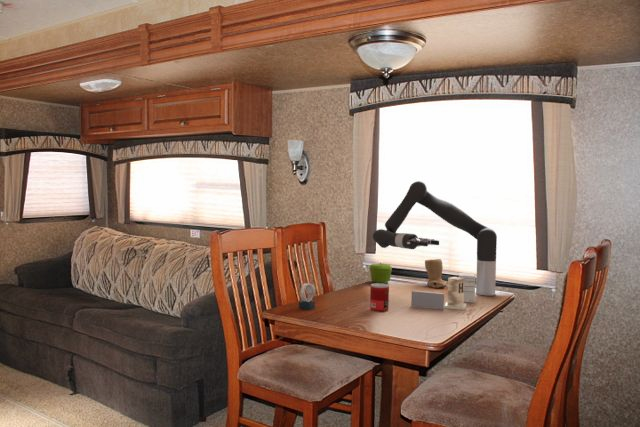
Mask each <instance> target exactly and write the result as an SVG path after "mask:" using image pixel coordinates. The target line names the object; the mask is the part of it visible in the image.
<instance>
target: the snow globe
mask: <svg viewBox="0 0 640 427" xmlns="http://www.w3.org/2000/svg"><path fill="white" fill-rule="evenodd" d="M315 291H316V287H315V286H314V285H313V284H312V283H306V282H305V283H303V284H302V285H301V288H300V292H299V293H300V294H299V295H300V296H299V297H300V299H301V300H299V301H298V310H299V309H300V310H305V311H312V310H314V308H315V307H316V305H315V304H316V302H315V301H313V298H314V295H315ZM305 292H306V293H307V295H308V296H307V295H306V293H305ZM315 309H316V308H315Z"/></svg>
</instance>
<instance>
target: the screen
mask: <svg viewBox="0 0 640 427" xmlns="http://www.w3.org/2000/svg"><path fill="white" fill-rule="evenodd" d="M410 304H411V305H410V307H411V308H421V309H429V310H431V309H432V310H444V309H445V308H444V305H445V293H444V292H434V291H433V292H432V291H420V290H412V291H411V303H410Z"/></svg>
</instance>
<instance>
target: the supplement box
mask: <svg viewBox="0 0 640 427" xmlns="http://www.w3.org/2000/svg"><path fill="white" fill-rule="evenodd" d="M458 278H464V303H475V302H476V299H475V298H476V276H475V274H474V273H470V272H469V273H467V272H466V273H465V272H464V273H463V272H458Z"/></svg>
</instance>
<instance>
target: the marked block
mask: <svg viewBox="0 0 640 427" xmlns="http://www.w3.org/2000/svg"><path fill="white" fill-rule="evenodd" d="M447 302H448V305H452V306H461V305H464V303H465V302H464V278H459V276H458V277H457V276H452V277H448V278H447Z"/></svg>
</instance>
